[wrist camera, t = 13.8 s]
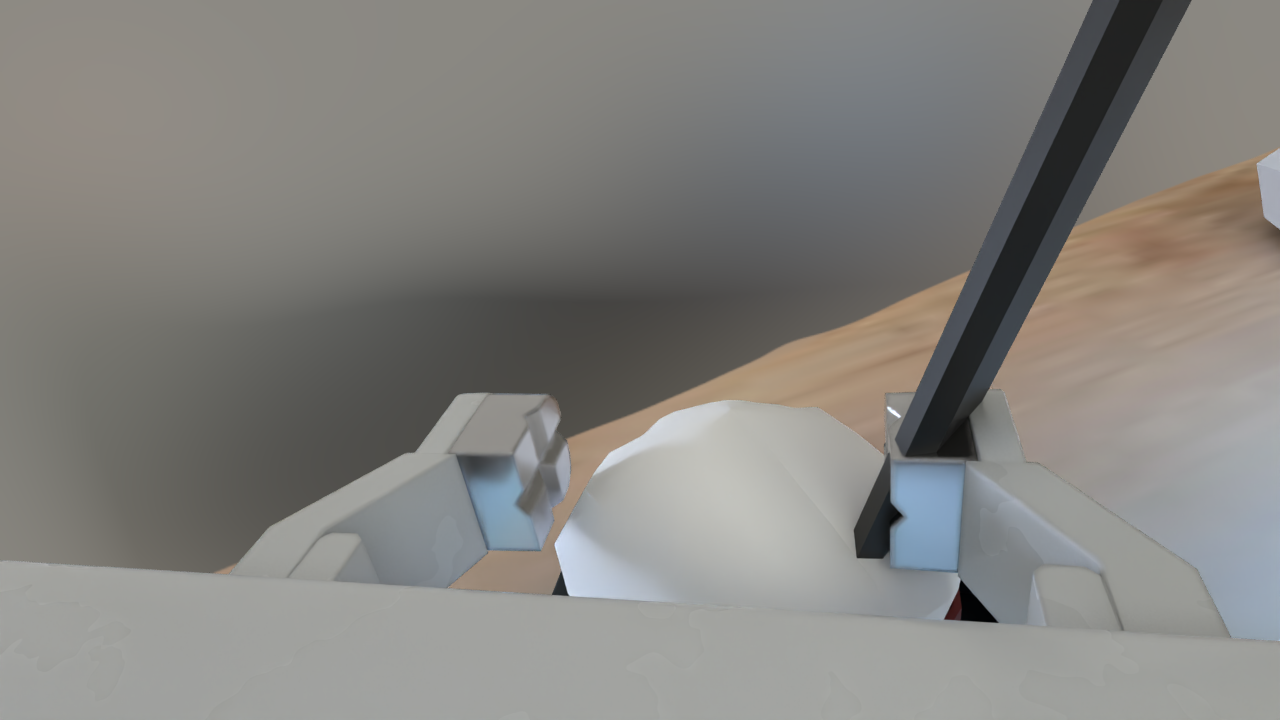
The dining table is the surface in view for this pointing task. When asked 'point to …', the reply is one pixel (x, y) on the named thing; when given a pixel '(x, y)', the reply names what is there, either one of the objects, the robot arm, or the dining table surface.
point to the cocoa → (827, 449)
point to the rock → (1270, 186)
